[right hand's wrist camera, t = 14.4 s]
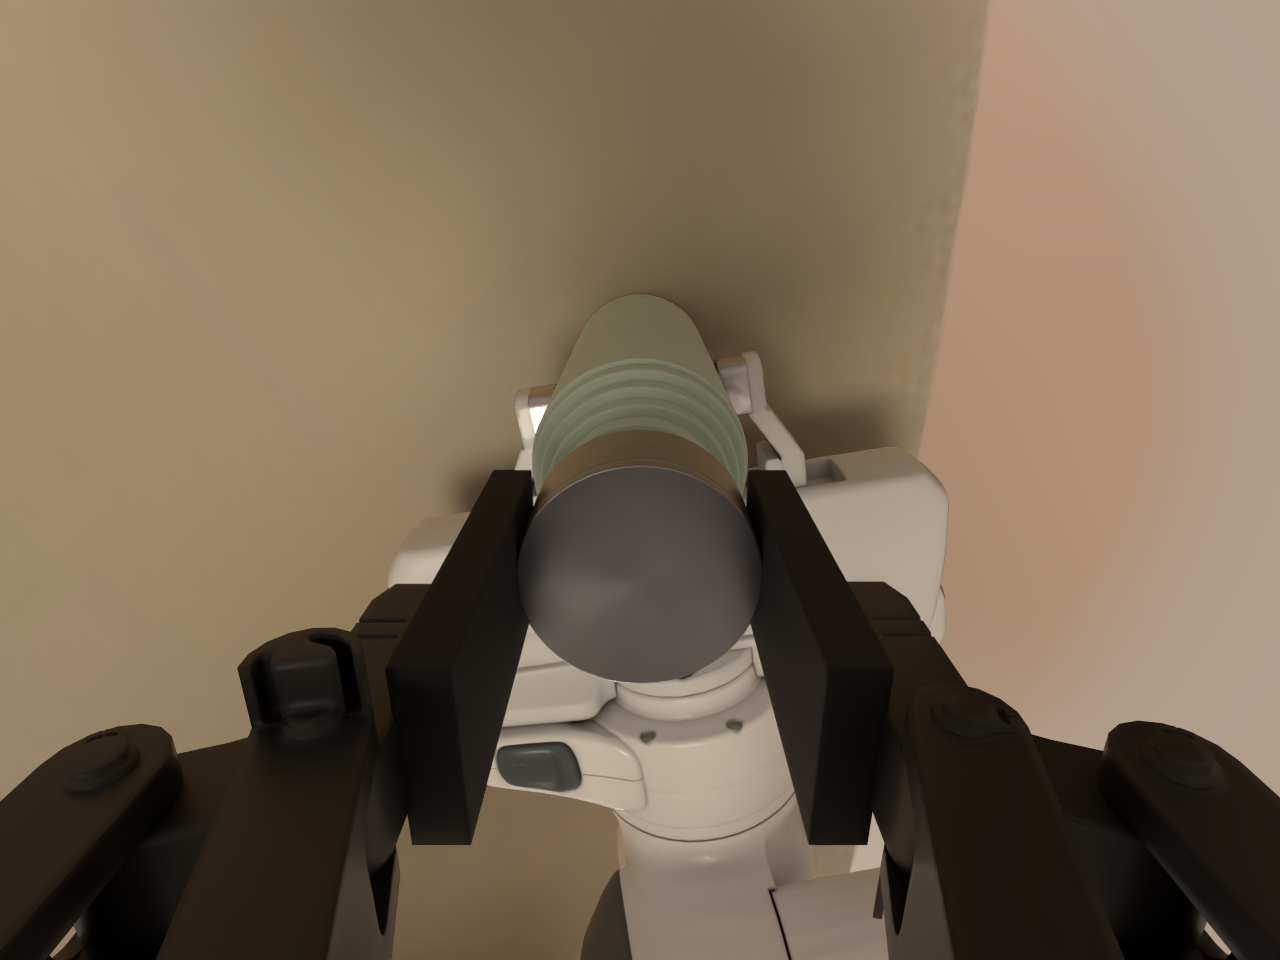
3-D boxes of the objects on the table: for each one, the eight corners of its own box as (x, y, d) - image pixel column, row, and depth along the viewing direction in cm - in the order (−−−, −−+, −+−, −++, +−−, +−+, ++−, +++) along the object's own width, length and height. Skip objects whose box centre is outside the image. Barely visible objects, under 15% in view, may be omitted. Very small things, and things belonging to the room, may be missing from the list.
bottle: (549, 361, 31) (425, 574, 13) (638, 265, 29) (635, 357, 12) (641, 446, 32) (642, 742, 14) (731, 358, 31) (854, 568, 13)
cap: (487, 533, 15) (464, 584, 13) (637, 382, 13) (636, 411, 12) (642, 660, 16) (642, 723, 14) (792, 529, 15) (815, 579, 13)
